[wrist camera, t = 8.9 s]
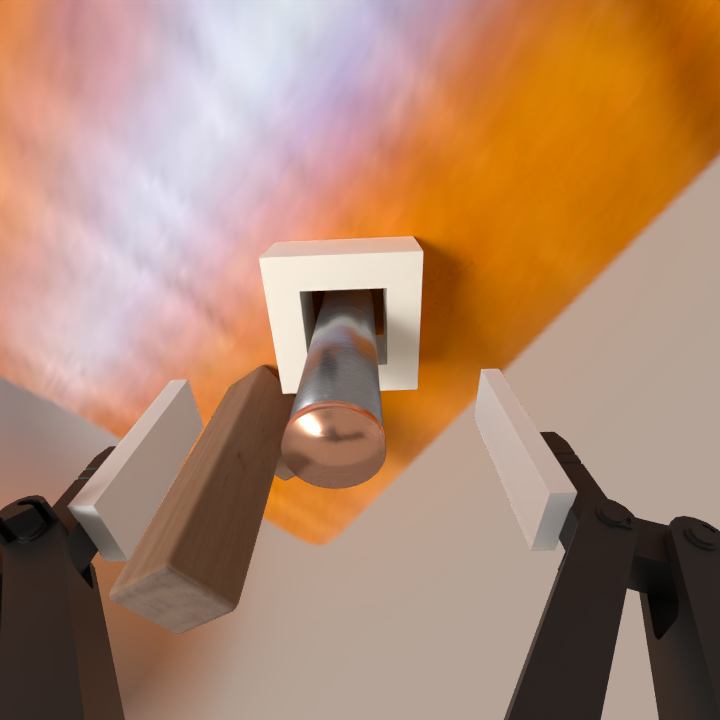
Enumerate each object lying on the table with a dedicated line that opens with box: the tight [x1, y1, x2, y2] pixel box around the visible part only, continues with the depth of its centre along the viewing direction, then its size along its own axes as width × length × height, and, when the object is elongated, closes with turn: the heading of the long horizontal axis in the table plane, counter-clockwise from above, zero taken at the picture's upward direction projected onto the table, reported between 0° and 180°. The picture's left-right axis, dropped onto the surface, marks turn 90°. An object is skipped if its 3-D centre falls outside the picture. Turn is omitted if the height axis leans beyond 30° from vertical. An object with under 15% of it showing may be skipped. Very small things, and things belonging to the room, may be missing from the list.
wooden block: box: [109, 365, 296, 634], centre depth 26 cm, size 9×4×18 cm, turn 36°
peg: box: [281, 289, 386, 489], centre depth 21 cm, size 4×4×17 cm
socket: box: [259, 236, 423, 394], centre depth 26 cm, size 10×10×5 cm
